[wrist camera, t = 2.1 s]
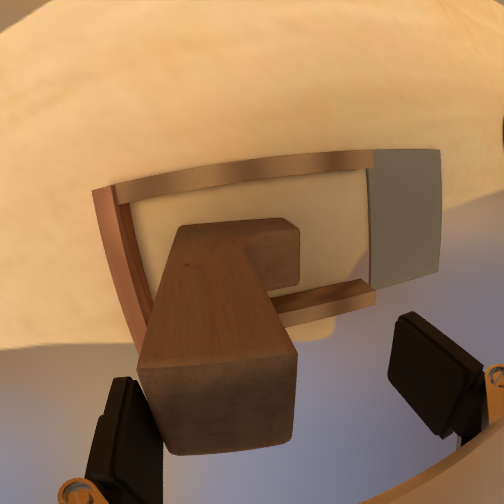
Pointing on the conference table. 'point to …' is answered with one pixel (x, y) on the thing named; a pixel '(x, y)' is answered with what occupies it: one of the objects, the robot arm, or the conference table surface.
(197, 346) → the wooden block
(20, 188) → the conference table surface
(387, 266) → the mat
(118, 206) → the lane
